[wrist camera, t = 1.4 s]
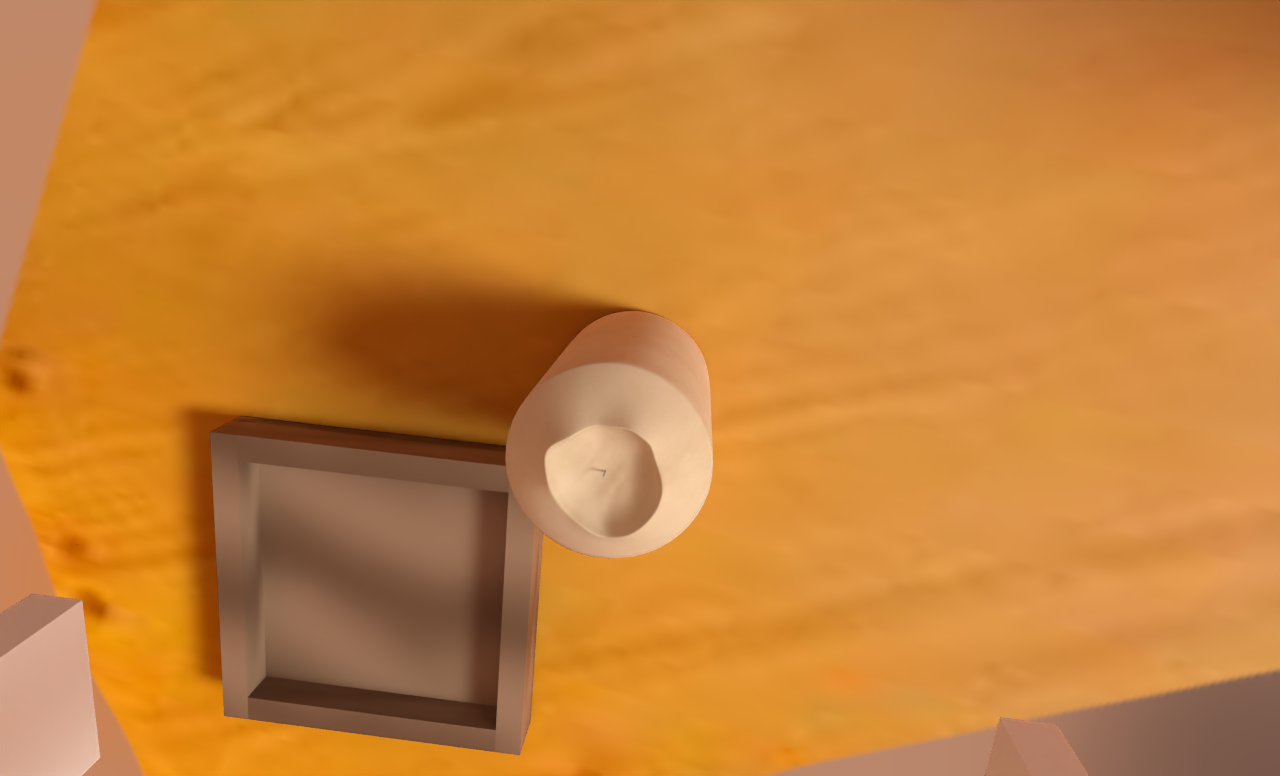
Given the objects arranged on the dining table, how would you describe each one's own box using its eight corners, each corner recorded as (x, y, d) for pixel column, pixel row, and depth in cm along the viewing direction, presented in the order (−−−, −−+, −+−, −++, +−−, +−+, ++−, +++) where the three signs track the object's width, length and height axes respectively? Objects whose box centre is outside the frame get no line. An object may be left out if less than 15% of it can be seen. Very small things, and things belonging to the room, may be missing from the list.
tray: (240, 416, 31) (210, 432, 29) (548, 451, 30) (537, 469, 28) (251, 685, 34) (224, 715, 32) (530, 721, 33) (519, 755, 31)
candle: (530, 393, 30) (448, 496, 20) (621, 277, 28) (579, 328, 19) (646, 482, 30) (621, 625, 20) (740, 372, 29) (760, 470, 19)
